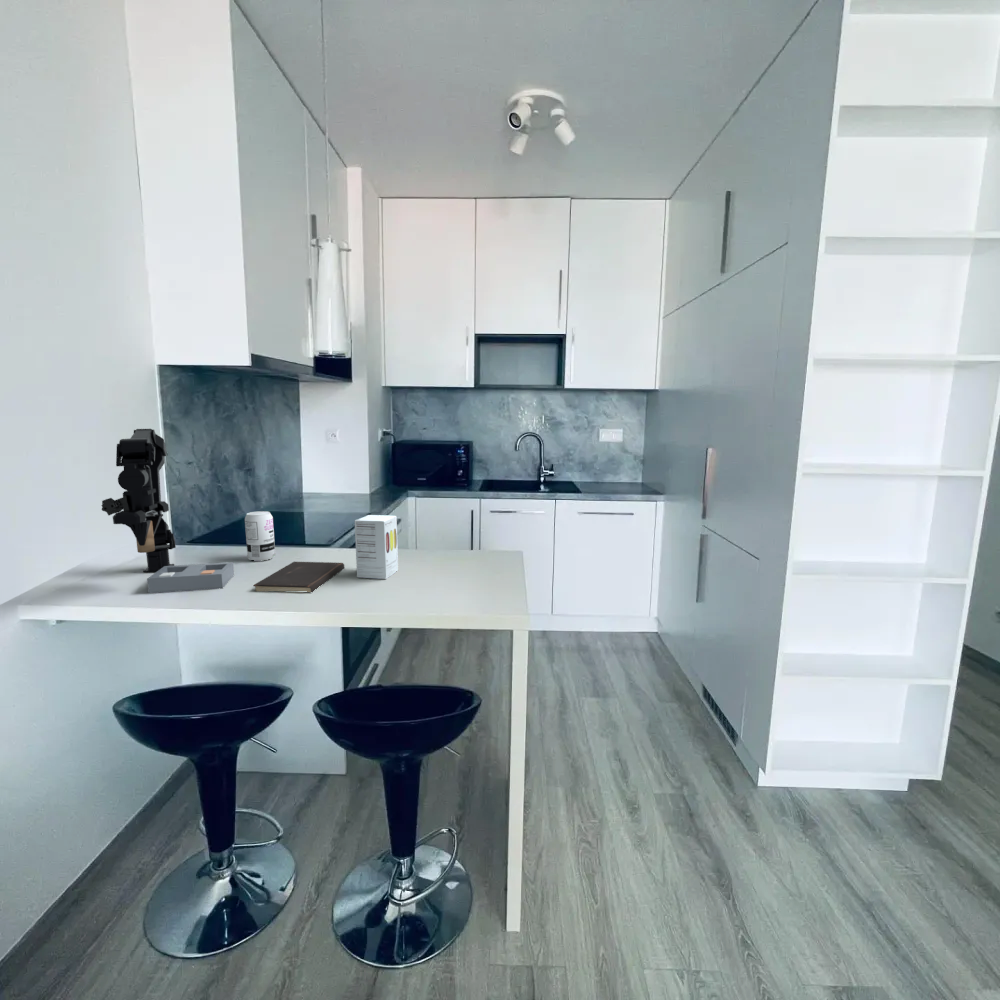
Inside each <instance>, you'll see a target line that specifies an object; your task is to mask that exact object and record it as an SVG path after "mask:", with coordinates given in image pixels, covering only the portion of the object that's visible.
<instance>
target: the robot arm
mask: <svg viewBox="0 0 1000 1000" xmlns="http://www.w3.org/2000/svg"><path fill="white" fill-rule="evenodd" d="M167 452H168V451H167V446H166V442H165V439H164V438H163V437H161V436H159V434H157V433H156V432H155V429H152V428H136V429H133V434H132V435H131V437H130V438H121V439H119V443H116V458H115V459H116V460H115V462H116V463H115V465H116V466H115V467H123V470H122V471H121V472H120V473H119V474H118V476H117V483H118V485H119V486H120V487H121V488H122V489H123V490H125V491H123V492H122V497H120V498H116V499H113V498H112V497H109V498H105V499H102V500H101V511H103V512H105V513H106V514H107V516H111V515H113V514H114V515H113V516H112V522H113V524H114V525H124V526H127V527H128V528H130V530H131V531H132V533H133V536H134V537H135V539H137V541H138V543H139V545H140V546H144V545H145V542H146V538H147V534H148V530H149V526H150V522H151V521H152V524H153V534H154V543H155V551H152V552H146V553H145V554H146V562H147V563H146V564H147V568H145V569H143V573H156V572H157V571H158V570H160V569H161V568H163V567H164V566H175V564H174V563H170V552H169V550H173V549H176V539H175V535H174V533H172V530H171V529H169V524H168V523H167V522H166V520H164V518H163V517H164V513H167V512H169V511H170V507H169V504H168V503H167V502H166V501H165V500H164V501H163V500H162V495H161V494H162V493H161V492H162V491H161V478H160V476H161V475H160V471H161V469H162V468H163V466H164V465H165V463H166V462H165V460H166V459H165V457H167ZM162 513H163V514H162ZM137 541H136V542H137Z"/></svg>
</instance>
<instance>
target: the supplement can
mask: <svg viewBox="0 0 1000 1000" xmlns="http://www.w3.org/2000/svg"><path fill="white" fill-rule="evenodd" d="M244 528H245V541H246V553H247V559H248V560H249V561H251V560H254V561H253V562H262V561H261V560H267V561H269V560H268V559H270V560H272V559H271V558H273V557H275V556H276V545H275V542H276V541H275V530H274V517H273V515H272V514H271V512H270V511H266V510H264V511H263V510H259V511H251V512H246V515H245V517H244ZM273 559H274V558H273Z"/></svg>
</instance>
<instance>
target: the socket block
mask: <svg viewBox="0 0 1000 1000" xmlns="http://www.w3.org/2000/svg"><path fill="white" fill-rule="evenodd" d="M234 568H235V567H234V562H233V561H231V562H213V563H212V562H211V563H210V562H209V563H196V564H195V563H193V564H192V563H191V564H179V565H176V564H174V566H164V567H163V568H161V569H160V570H158V571H157V572H153V574H151V575H149V576H148V577H147V578H146V580H147V589H148V594H156V593H158V594H159V593H170V592H171V593H173V592H188V591H190V592H191V591H201V590H217V589H219V588H220V589H224V588H225V587H226V585H227V584H229V582H230V581H231V580H232V579H231V578H234V576H235V569H234ZM233 575H234V576H233ZM230 579H231V580H230ZM229 580H230V581H229ZM228 581H229V582H228ZM223 587H224V588H223Z"/></svg>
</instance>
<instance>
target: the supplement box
mask: <svg viewBox="0 0 1000 1000" xmlns="http://www.w3.org/2000/svg"><path fill="white" fill-rule="evenodd" d="M397 521H398V518H397V515H386V514H385V515H382V514H381V515H379V514H367V515H365V516H363V517H360V518H357V519H355V520H354V538H355V561H356V563H355V564H356V578H359V579H361V578H362V579H363V578H364V579H377V580H387V579H388V578H390V577H391V576H393V575H394V574H396V573H397V572H398V571H399V557H398V556H399V553H398V552H399V549H398V548H399V547H398V524H397V523H398V522H397ZM396 571H397V572H396Z"/></svg>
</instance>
